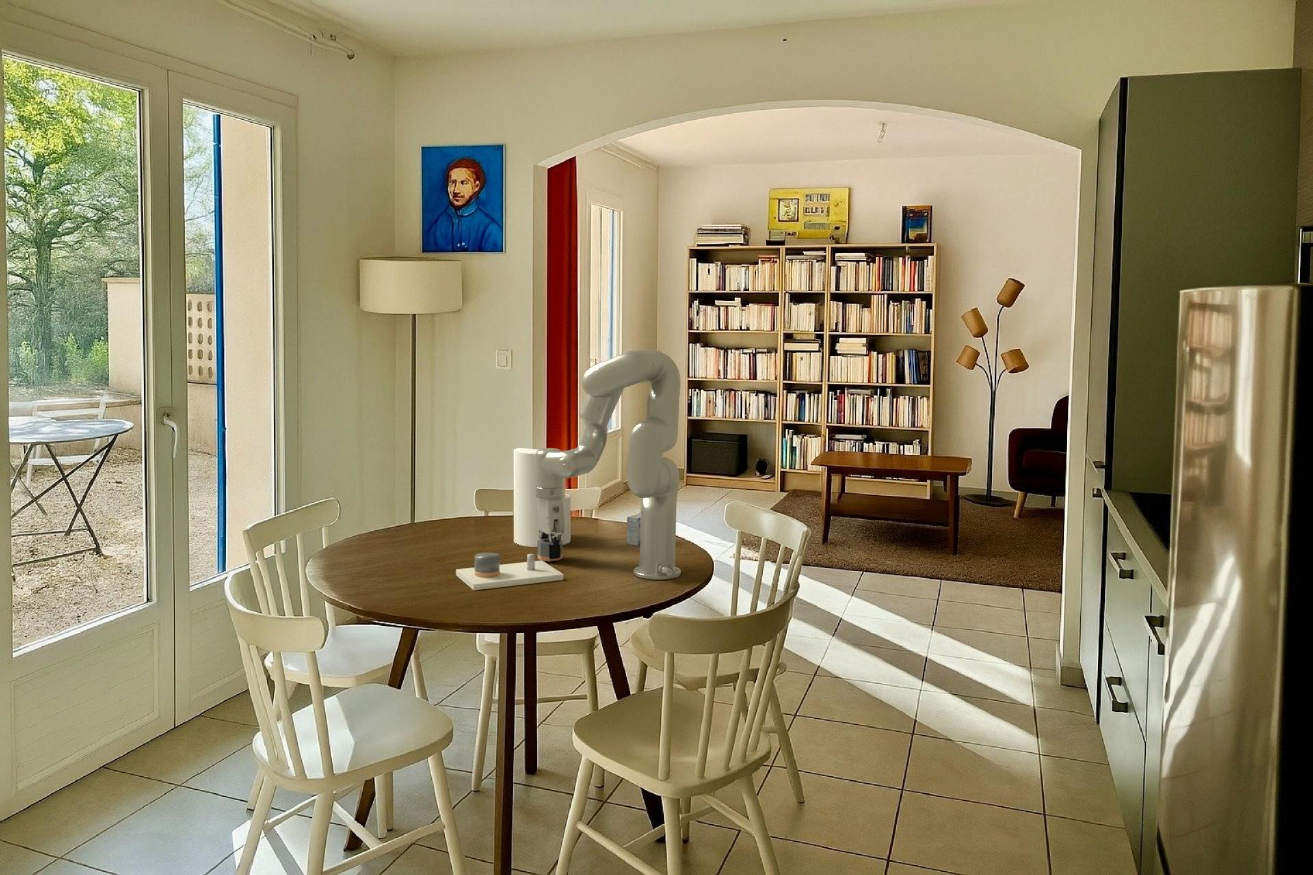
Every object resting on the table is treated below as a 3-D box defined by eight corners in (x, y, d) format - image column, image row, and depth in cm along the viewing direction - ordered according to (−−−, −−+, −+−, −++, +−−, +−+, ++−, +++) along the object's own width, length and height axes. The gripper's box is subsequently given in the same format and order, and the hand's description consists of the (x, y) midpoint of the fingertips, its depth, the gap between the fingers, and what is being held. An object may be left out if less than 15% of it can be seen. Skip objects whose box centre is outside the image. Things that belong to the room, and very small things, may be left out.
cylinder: (547, 549, 289) (547, 455, 286) (502, 542, 298) (501, 450, 295) (581, 539, 304) (582, 449, 301) (537, 532, 313) (537, 444, 310)
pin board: (563, 579, 256) (563, 555, 256) (473, 590, 246) (473, 564, 245) (541, 565, 270) (541, 542, 270) (456, 574, 260) (455, 550, 259)
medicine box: (637, 546, 295) (638, 518, 294) (626, 544, 298) (626, 516, 297) (653, 541, 301) (654, 514, 300) (642, 539, 304) (642, 512, 303)
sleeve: (564, 559, 275) (564, 541, 275) (543, 561, 272) (543, 544, 272) (556, 554, 281) (556, 537, 280) (535, 556, 278) (535, 539, 277)
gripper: (573, 496, 268) (574, 560, 270) (550, 487, 284) (551, 548, 286) (547, 498, 265) (548, 563, 267) (526, 489, 280) (526, 550, 282)
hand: (550, 555), depth 276 cm, fingers closed on sleeve, 6 cm apart
